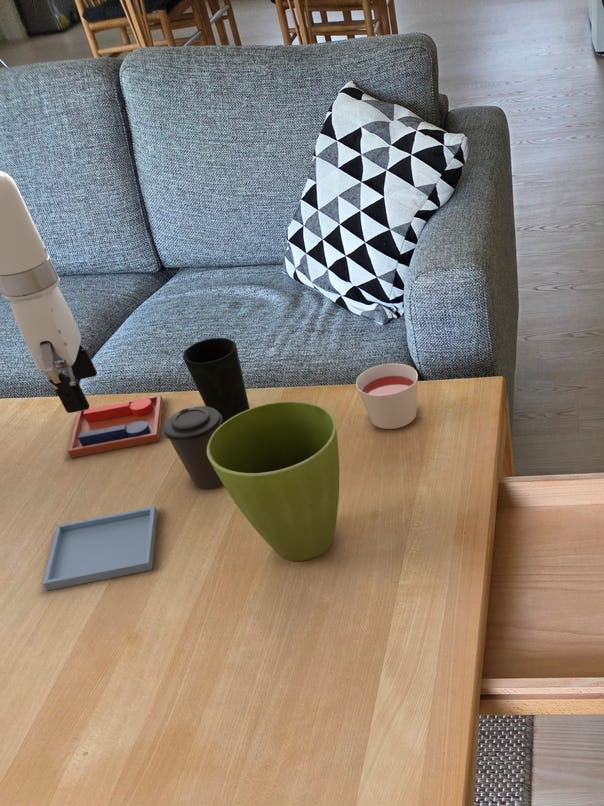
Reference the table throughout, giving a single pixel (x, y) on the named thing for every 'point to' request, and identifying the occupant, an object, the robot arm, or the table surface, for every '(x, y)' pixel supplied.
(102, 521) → the blue tray
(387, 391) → the candle
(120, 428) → the blue spoon
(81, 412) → the red tray
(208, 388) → the cup
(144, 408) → the red spoon
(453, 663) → the table surface
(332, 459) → the flower pot
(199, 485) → the coffee cup
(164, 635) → the table surface
